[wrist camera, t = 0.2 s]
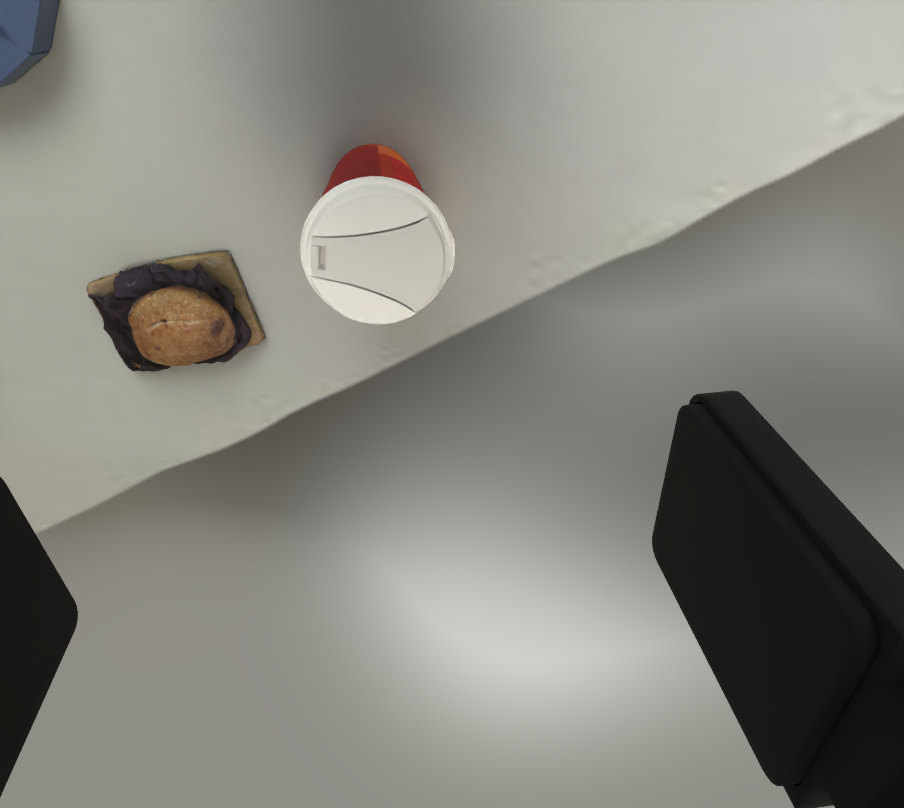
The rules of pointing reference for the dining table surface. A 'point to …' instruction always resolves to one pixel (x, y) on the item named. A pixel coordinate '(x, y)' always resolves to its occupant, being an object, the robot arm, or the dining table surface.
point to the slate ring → (24, 35)
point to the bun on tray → (177, 312)
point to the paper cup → (376, 239)
